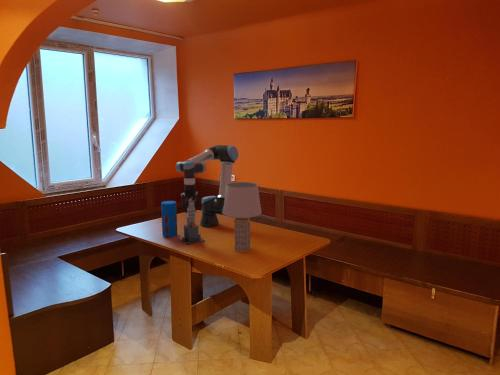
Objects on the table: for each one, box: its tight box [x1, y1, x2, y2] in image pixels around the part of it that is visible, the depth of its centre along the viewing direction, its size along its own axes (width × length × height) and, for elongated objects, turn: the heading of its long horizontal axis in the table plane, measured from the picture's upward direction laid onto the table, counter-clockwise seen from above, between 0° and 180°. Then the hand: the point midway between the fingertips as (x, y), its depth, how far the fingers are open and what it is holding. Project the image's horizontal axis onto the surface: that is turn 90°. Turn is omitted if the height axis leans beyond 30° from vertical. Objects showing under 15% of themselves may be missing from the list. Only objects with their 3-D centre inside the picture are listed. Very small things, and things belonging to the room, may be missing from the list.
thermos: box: [160, 200, 178, 239], centre depth 286 cm, size 11×11×25 cm
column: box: [185, 198, 196, 227], centre depth 273 cm, size 5×5×23 cm
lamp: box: [222, 181, 263, 253], centre depth 254 cm, size 25×25×44 cm
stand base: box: [177, 223, 206, 246], centre depth 275 cm, size 14×14×13 cm
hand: (190, 216), depth 273 cm, fingers closed on column, 4 cm apart
